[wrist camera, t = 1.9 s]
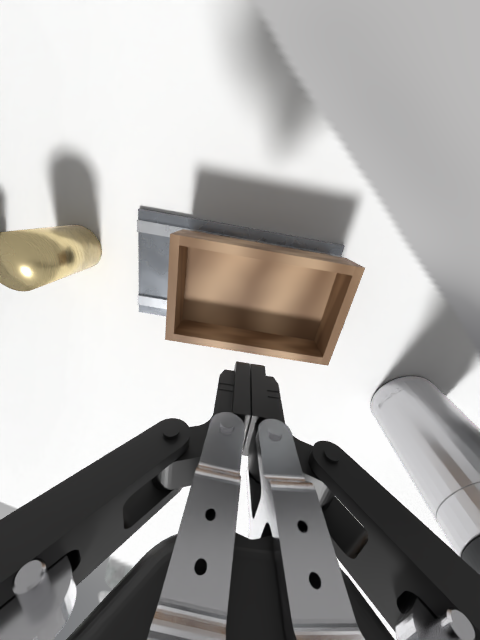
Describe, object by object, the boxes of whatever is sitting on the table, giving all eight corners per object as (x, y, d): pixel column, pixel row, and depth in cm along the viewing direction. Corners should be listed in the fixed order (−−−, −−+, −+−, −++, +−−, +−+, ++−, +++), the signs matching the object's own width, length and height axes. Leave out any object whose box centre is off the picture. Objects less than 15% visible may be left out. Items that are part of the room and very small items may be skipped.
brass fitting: (107, 241, 28) (50, 255, 20) (92, 275, 30) (34, 301, 22) (66, 215, 27) (-12, 219, 19) (53, 252, 29) (-24, 270, 21)
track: (343, 245, 27) (345, 246, 27) (312, 338, 32) (313, 341, 32) (139, 208, 27) (137, 208, 26) (140, 310, 32) (138, 312, 31)
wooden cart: (339, 254, 27) (365, 268, 21) (312, 335, 31) (328, 365, 25) (187, 227, 26) (170, 233, 20) (181, 313, 31) (165, 339, 25)
